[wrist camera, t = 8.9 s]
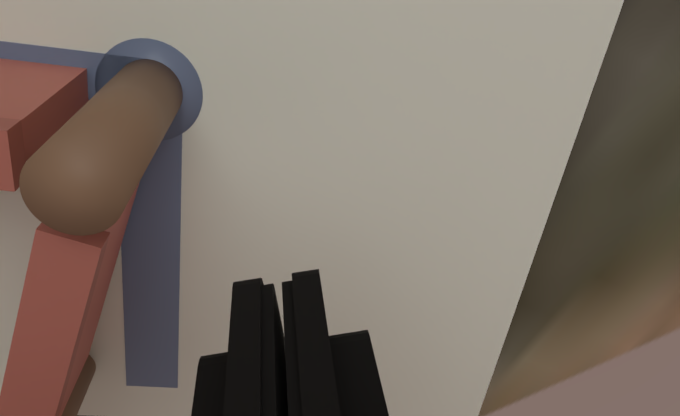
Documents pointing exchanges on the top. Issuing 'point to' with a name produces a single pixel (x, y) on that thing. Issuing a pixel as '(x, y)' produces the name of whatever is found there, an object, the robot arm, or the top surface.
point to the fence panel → (59, 320)
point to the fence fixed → (81, 138)
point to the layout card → (324, 177)
